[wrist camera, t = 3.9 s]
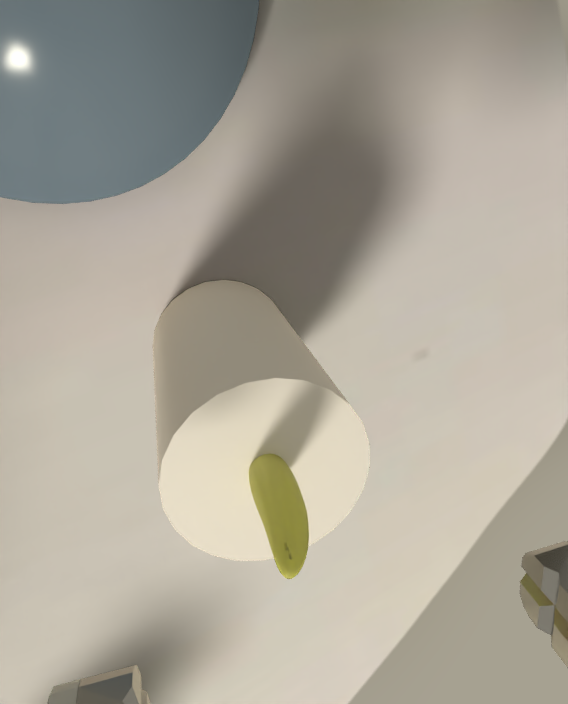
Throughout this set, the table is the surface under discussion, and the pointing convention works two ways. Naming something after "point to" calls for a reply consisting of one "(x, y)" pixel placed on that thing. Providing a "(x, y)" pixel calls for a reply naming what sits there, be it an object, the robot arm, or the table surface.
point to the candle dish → (112, 90)
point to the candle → (250, 429)
